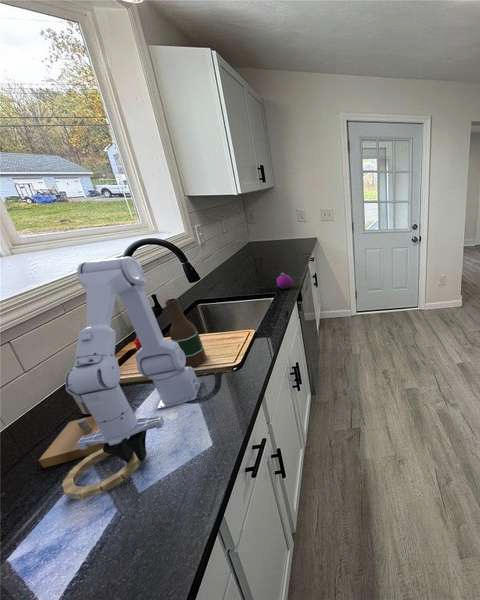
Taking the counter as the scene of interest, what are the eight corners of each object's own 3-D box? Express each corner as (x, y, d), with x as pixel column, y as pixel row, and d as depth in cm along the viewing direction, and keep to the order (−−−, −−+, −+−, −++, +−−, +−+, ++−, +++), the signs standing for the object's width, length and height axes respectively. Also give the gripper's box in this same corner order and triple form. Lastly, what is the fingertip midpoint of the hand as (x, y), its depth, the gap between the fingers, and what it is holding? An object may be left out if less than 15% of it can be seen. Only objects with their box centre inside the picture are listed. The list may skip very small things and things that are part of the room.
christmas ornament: (291, 285, 182) (287, 268, 178) (295, 288, 175) (291, 271, 171) (276, 288, 178) (272, 271, 174) (280, 292, 171) (276, 275, 167)
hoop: (152, 438, 77) (149, 433, 77) (131, 483, 66) (128, 478, 65) (85, 457, 73) (82, 452, 72) (51, 509, 62) (47, 504, 61)
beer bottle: (198, 368, 107) (174, 304, 98) (176, 369, 107) (150, 305, 98) (211, 355, 114) (190, 294, 105) (190, 356, 114) (168, 296, 105)
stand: (132, 413, 88) (123, 396, 85) (112, 448, 76) (101, 430, 74) (73, 429, 83) (62, 411, 81) (43, 468, 72) (30, 449, 70)
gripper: (57, 438, 60) (89, 486, 65) (147, 414, 65) (170, 461, 70) (77, 414, 66) (104, 460, 71) (157, 394, 71) (177, 438, 76)
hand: (137, 459), depth 71 cm, fingers closed on hoop, 1 cm apart
